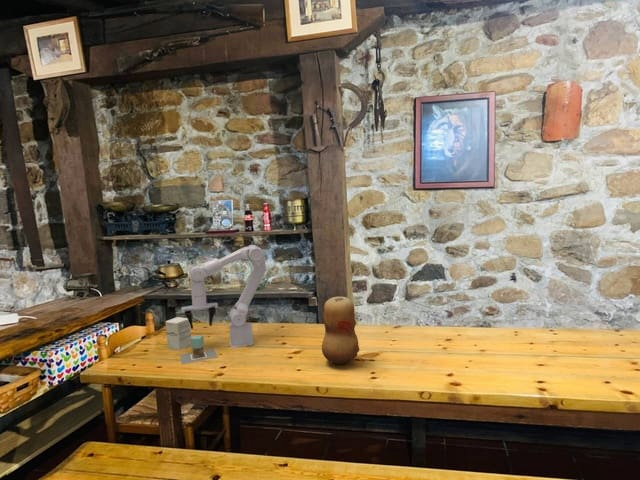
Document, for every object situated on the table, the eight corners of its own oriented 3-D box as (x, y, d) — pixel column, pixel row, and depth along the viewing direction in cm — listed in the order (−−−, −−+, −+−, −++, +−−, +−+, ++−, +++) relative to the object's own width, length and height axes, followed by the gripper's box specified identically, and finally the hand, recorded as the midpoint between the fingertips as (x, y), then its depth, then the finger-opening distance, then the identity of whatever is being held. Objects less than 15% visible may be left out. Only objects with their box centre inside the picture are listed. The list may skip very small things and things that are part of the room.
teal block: (204, 344, 173) (203, 335, 173) (200, 348, 169) (200, 338, 169) (194, 344, 173) (193, 335, 173) (191, 348, 169) (190, 338, 169)
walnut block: (202, 353, 174) (202, 344, 174) (204, 356, 171) (203, 347, 170) (192, 355, 173) (192, 345, 172) (194, 358, 169) (193, 349, 169)
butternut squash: (328, 372, 150) (325, 304, 148) (318, 359, 163) (315, 296, 160) (365, 366, 154) (362, 300, 151) (352, 353, 167) (349, 291, 164)
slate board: (214, 349, 179) (213, 348, 179) (218, 358, 169) (218, 357, 169) (179, 356, 174) (179, 354, 174) (181, 365, 164) (181, 364, 164)
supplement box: (167, 349, 183) (164, 321, 181) (180, 343, 189) (177, 316, 188) (179, 351, 179) (176, 323, 178) (192, 345, 186) (189, 318, 184)
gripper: (214, 291, 183) (217, 321, 184) (179, 295, 177) (182, 326, 179) (217, 294, 176) (219, 325, 178) (181, 299, 171) (184, 331, 172)
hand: (201, 326), depth 178 cm, fingers open, 7 cm apart
